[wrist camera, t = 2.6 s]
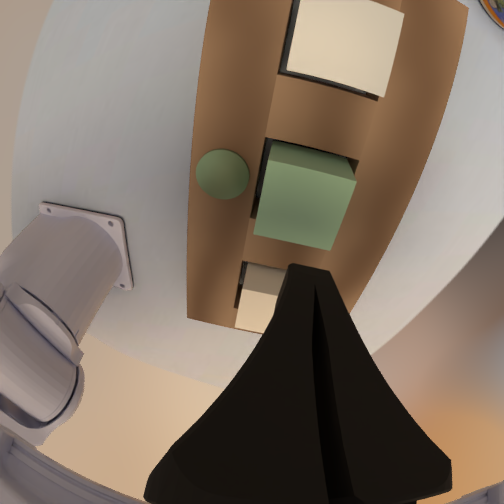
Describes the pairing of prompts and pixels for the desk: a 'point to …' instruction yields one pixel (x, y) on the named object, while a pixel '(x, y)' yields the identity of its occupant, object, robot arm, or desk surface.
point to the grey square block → (346, 42)
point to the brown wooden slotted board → (306, 144)
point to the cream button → (259, 296)
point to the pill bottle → (495, 10)
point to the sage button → (304, 196)
